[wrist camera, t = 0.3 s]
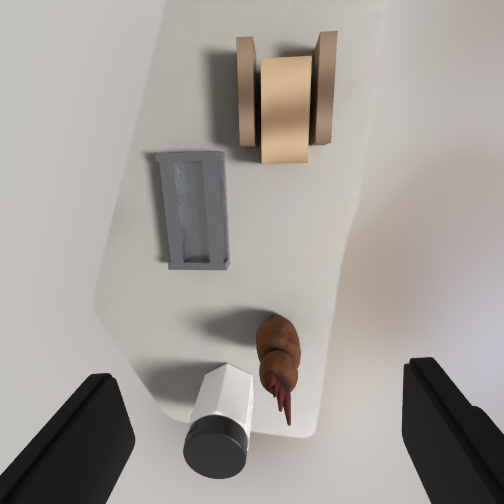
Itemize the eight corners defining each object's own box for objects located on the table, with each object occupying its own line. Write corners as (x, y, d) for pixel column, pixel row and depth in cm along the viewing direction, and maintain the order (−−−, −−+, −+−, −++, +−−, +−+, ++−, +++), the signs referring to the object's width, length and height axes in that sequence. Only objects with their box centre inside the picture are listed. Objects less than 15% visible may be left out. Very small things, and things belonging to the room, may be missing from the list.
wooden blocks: (241, 54, 32) (236, 37, 28) (329, 49, 31) (337, 30, 27) (244, 147, 35) (239, 145, 31) (324, 145, 34) (330, 142, 30)
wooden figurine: (301, 344, 43) (313, 434, 29) (265, 350, 44) (259, 440, 30) (292, 305, 41) (300, 381, 27) (254, 313, 42) (242, 390, 28)
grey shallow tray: (163, 153, 36) (154, 153, 34) (224, 152, 35) (220, 151, 33) (175, 263, 41) (168, 269, 38) (229, 263, 40) (226, 270, 37)
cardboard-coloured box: (263, 73, 33) (260, 58, 28) (306, 71, 32) (311, 55, 27) (263, 163, 36) (261, 163, 31) (303, 162, 35) (307, 162, 30)
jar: (202, 362, 46) (177, 428, 34) (252, 363, 45) (243, 431, 33) (208, 405, 48) (186, 480, 37) (255, 406, 47) (248, 484, 36)
